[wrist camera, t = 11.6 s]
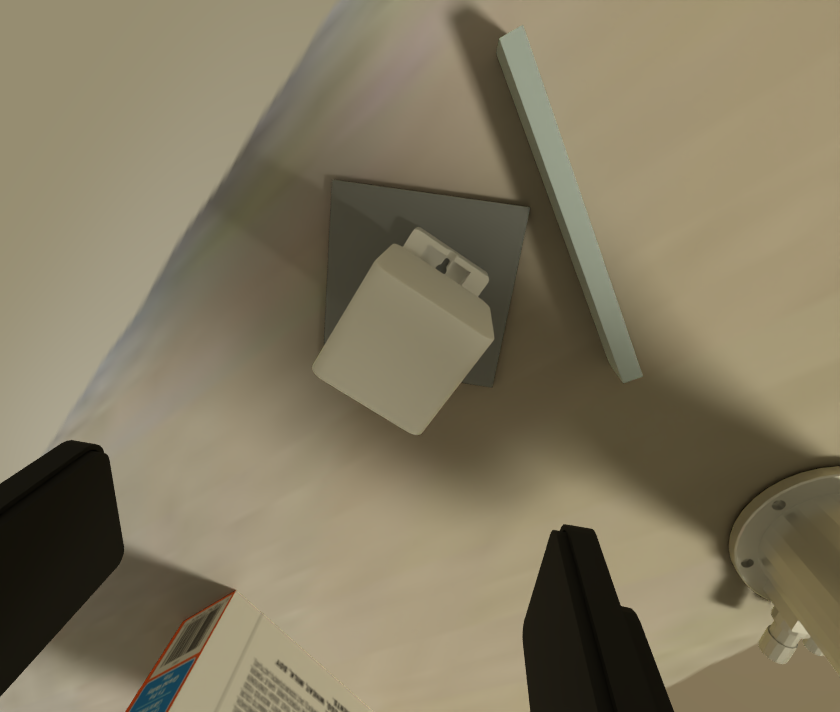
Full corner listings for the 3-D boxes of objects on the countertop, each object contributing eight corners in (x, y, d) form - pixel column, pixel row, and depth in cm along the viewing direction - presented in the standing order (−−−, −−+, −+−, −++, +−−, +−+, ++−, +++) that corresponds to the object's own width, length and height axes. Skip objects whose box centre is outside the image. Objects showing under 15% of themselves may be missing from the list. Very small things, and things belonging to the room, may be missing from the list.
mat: (492, 383, 32) (492, 387, 32) (325, 357, 33) (323, 360, 32) (528, 206, 28) (530, 207, 27) (334, 179, 28) (331, 179, 28)
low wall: (627, 357, 30) (643, 376, 28) (609, 364, 31) (623, 383, 28) (516, 41, 24) (523, 24, 22) (495, 53, 25) (499, 38, 22)
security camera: (355, 311, 31) (306, 372, 21) (411, 220, 28) (382, 245, 19) (434, 361, 31) (420, 441, 22) (495, 278, 29) (507, 328, 20)
